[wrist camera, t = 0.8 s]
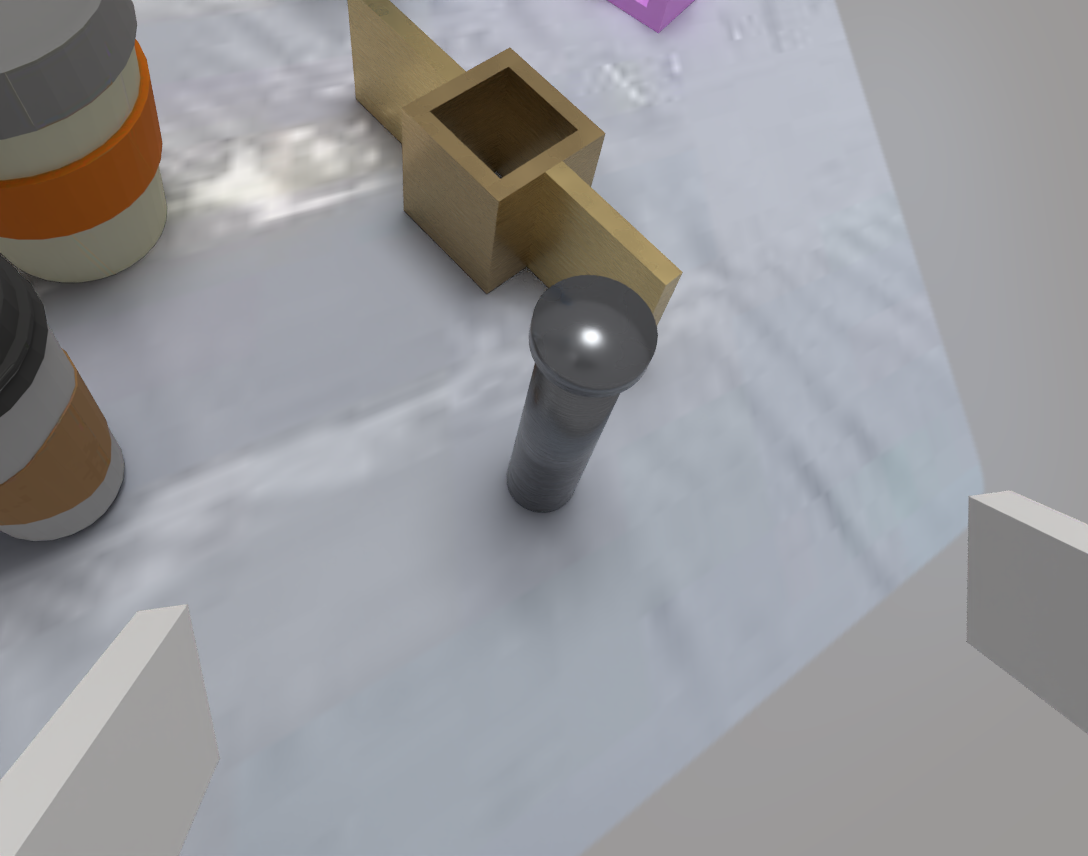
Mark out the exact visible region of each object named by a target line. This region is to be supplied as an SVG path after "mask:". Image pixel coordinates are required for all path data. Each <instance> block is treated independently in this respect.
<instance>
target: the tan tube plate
mask: <svg viewBox="0 0 1088 856" xmlns="http://www.w3.org/2000/svg"><path fill="white" fill-rule="evenodd" d="M348 11H349V23H350V35H351V46H352V58H353V70H354V81H355V93H356V99H357V100H358V101H359V102H360V103H361V104H362V105H363V106H364V107H365V108H366V109H367V110H368V111H369V112H370V113H371V114H372V115H373V116H374V117H375V118H376V119H377V120H378V121H379V122H380V123H381V124H382V125H383V126H384V127H385V128H386V129H387V130H388V131H389V132H390V133H391V134H392V135H393V136H394V137H395V138H396V139H397V140H399V141H400V142H401V143H402V154H403V196H404V211H405V212H406V213H407V214H408V215H409V216H410V217H411V218H412V219H413V220H414V221H415V222H416V223H417V224H418V225H419V226H420V227H421V228H422V229H423V230H424V231H425V232H426V233H427V234H428V235H429V236H430V237H431V238H432V239H433V240H434V241H435V242H436V243H437V244H438V245H439V246H440V247H441V248H442V249H443V250H444V251H445V252H446V253H447V254H448V255H449V256H450V257H451V258H452V259H453V260H454V261H455V262H456V263H457V264H458V265H459V266H460V267H461V268H462V269H463V270H464V271H465V272H466V273H467V274H468V275H469V276H470V277H471V279H472V280H473V281H474V282H475V283H476V284H477V285H478V286H479V287H480V288H481V289H482V290H483V291H484V292H485V293H486V294H488V293H489V292H490V291H492V290H493V289H495V288H496V287H498V286H499V285H501V284H502V283H503V282H505V281H506V280H508V279H509V278H511V277H512V276H514V275H515V274H516V273H518V272H519V271H521V270H522V269H524V268H525V267H528V268H529V269H530V270H531V271H532V272H533V273H534V274H535V275H536V276H537V277H538V278H539V279H540V280H541V281H542V282H543V283H544V284H545V285H546V286H547V287H548V288H550V287H551V286H553V285H554V284H556V283H557V282H559V281H562V280H564V279H566V278H570V277H573V276H579V275H597V276H603V277H607V278H611V279H614V280H616V281H619V282H621V283H623V284H624V285H626V286H628V287H629V288H631V289H632V290H634V291H635V292H636V293H637V294H638V295H639V296H640V297H641V298H642V299H643V300H644V301H645V302H646V304H647V305H648V306H649V308H650V310H651V312H652V314H653V316H654V319H655V322H656V326H657V325H658V323H659V321H660V319H661V317H662V314H663V312H664V310H665V308H666V306H667V304H668V302H669V300H670V298H671V296H672V294H673V291H674V289H675V287H676V285H677V283H678V281H679V279H680V277H681V275H682V273H683V272H682V271H681V270H679V269H678V268H677V267H676V266H675V265H674V264H673V263H672V262H671V261H670V260H669V259H668V258H667V257H665V256H664V255H663V254H662V253H661V252H660V251H659V250H658V249H657V248H656V247H655V246H654V245H653V244H651V243H650V242H649V241H648V240H647V239H646V238H645V237H644V236H643V235H642V234H641V233H640V232H639V231H637V230H636V229H635V228H634V227H633V226H632V225H631V224H630V223H629V222H628V221H627V220H626V219H624V218H623V217H622V216H621V215H620V214H619V213H618V212H617V211H616V210H615V209H614V208H613V207H612V206H610V205H609V204H608V203H607V202H606V201H605V200H604V199H603V198H602V197H601V196H600V195H599V194H598V193H596V192H595V191H594V190H593V189H592V188H591V185H592V181H593V177H594V174H595V170H596V166H597V162H598V159H599V155H600V151H601V148H602V144H603V140H604V137H605V133H604V132H603V131H602V130H601V129H600V128H599V127H598V126H597V125H595V124H594V123H593V122H592V121H591V120H590V119H589V118H588V117H587V116H586V115H584V114H583V113H582V112H581V111H580V110H579V109H578V108H577V107H576V106H574V105H573V104H572V103H571V102H570V101H569V100H568V99H567V98H566V97H564V96H563V95H562V94H561V93H560V92H559V91H558V90H557V89H556V88H554V87H553V86H552V85H551V84H550V83H549V82H548V81H547V80H546V79H544V78H543V77H542V76H541V75H540V74H539V73H538V72H537V71H536V70H534V69H533V68H532V67H531V66H530V65H529V64H528V63H527V62H526V61H524V60H523V59H522V58H521V57H520V56H519V55H518V54H517V53H516V52H514V51H513V50H512V49H511V48H508V49H506V50H505V51H503V52H501V53H499V54H497V55H496V56H494V57H492V58H490V59H488V60H486V61H485V62H483V63H481V64H479V65H477V66H476V67H474V68H472V69H470V70H468V71H467V72H466V71H465V70H464V69H463V68H462V67H460V66H459V65H458V64H457V63H456V62H455V61H454V60H453V59H452V58H451V57H450V56H449V55H448V54H446V53H445V52H444V51H443V50H442V49H441V48H440V47H439V46H438V45H437V44H436V43H435V42H434V41H432V40H431V39H430V38H429V37H428V36H427V35H426V34H425V33H424V32H423V31H422V30H421V29H419V28H418V27H417V26H416V25H415V24H414V23H413V22H412V21H411V20H410V19H409V18H408V17H407V16H405V15H404V14H403V13H402V12H401V11H400V10H399V9H398V8H397V7H396V6H395V5H394V4H393V3H391V2H390V1H389V0H348ZM495 171H497V172H498V173H499V174H500V175H501V176H502V177H503V178H501V179H500V178H499V177H498V176H497V175H496V174H495V173H494V172H495Z"/></svg>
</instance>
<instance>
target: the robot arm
mask: <svg viewBox="0 0 1088 856" xmlns="http://www.w3.org/2000/svg"><path fill="white" fill-rule="evenodd" d="M967 582H968V583H967V643H969V644H970V645H971V646H973V647H974V648H975V649H977V650H978V651H979V652H981V653H982V654H983V655H984V656H986V657H987V658H988V659H990V660H991V661H993V662H994V663H995V664H996V665H998V666H999V667H1000V668H1002V669H1003V670H1004V671H1006V672H1007V673H1008V674H1009V675H1011V676H1012V677H1013V678H1015V679H1016V680H1018V681H1019V682H1020V683H1021V684H1023V685H1024V686H1025V687H1026V688H1028V689H1029V690H1030V691H1032V692H1033V693H1034V694H1036V695H1037V696H1038V697H1040V698H1041V699H1042V700H1044V701H1045V702H1046V703H1048V704H1049V705H1050V706H1051V707H1053V708H1054V709H1055V710H1057V711H1058V712H1060V713H1061V714H1062V715H1063V716H1065V717H1066V718H1067V719H1069V720H1070V721H1071V722H1073V723H1074V724H1075V725H1076V726H1078V727H1079V728H1080V729H1082V730H1083V731H1084V732H1086V733H1087V734H1088V524H1086V523H1083V522H1081V521H1079V520H1076V519H1074V518H1072V517H1070V516H1067V515H1065V514H1063V513H1060V512H1058V511H1056V510H1054V509H1051V508H1049V507H1047V506H1044V505H1042V504H1040V503H1038V502H1035V501H1033V500H1030V499H1029V498H1026V497H1024V496H1022V495H1019V494H1017V493H1015V492H1012V491H1003V492H996V493H989V494H981V495H974V496H969V512H968V581H967ZM219 759H220V756H219V751H218V747H217V742H216V737H215V732H214V728H213V723H212V718H211V713H210V708H209V704H208V699H207V694H206V689H205V684H204V680H203V675H202V670H201V665H200V660H199V656H198V651H197V646H196V641H195V637H194V632H193V627H192V622H191V617H190V613H189V608H188V604H186V605H179V606H172V607H164V608H157V609H150V610H143V611H137V613H136V614H135V615H134V616H133V618H132V619H131V620H130V621H129V623H128V624H127V625H126V626H125V627H124V629H123V630H122V631H121V632H120V634H119V635H118V636H117V637H116V639H115V640H114V641H113V642H112V643H111V645H110V646H109V647H108V648H107V650H106V651H105V652H104V653H103V655H102V656H101V657H100V658H99V660H98V661H97V662H96V663H95V664H94V666H93V667H92V668H91V669H90V671H89V672H88V673H87V674H86V676H85V677H84V678H83V679H82V680H81V682H80V683H79V684H78V685H77V687H76V688H75V689H74V690H73V692H72V693H71V694H70V695H69V696H68V698H67V699H66V700H65V701H64V703H63V704H62V705H61V706H60V708H59V709H58V710H57V711H56V713H55V714H54V715H53V716H52V717H51V719H50V720H49V721H48V722H47V724H46V725H45V726H44V727H43V729H42V730H41V731H40V732H39V733H38V735H37V736H36V737H35V738H34V740H33V741H32V742H31V743H30V745H29V746H28V747H27V748H26V750H25V751H24V752H23V753H22V754H21V756H20V757H19V758H18V759H17V761H16V762H15V763H14V764H13V766H12V767H11V768H10V769H9V770H8V772H7V773H6V774H5V775H4V777H3V778H2V779H1V780H0V856H179V854H180V851H181V849H182V847H183V844H184V842H185V840H186V837H187V835H188V832H189V830H190V828H191V825H192V823H193V821H194V818H195V816H196V813H197V811H198V809H199V806H200V804H201V802H202V799H203V797H204V795H205V792H206V790H207V787H208V785H209V783H210V780H211V778H212V776H213V773H214V771H215V768H216V766H217V764H218V761H219Z"/></svg>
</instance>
